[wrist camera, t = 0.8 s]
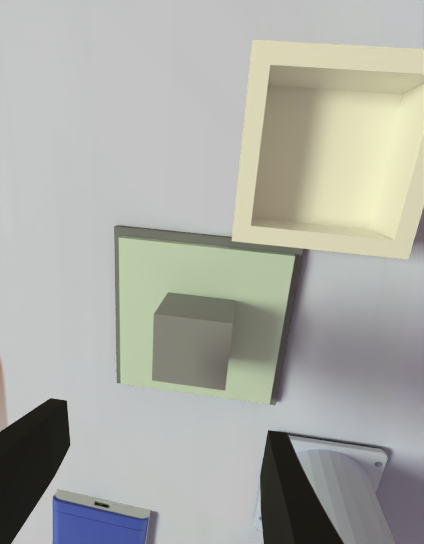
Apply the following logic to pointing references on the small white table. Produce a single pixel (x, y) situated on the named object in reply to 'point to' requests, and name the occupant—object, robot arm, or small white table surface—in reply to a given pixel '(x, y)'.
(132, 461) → the small white table surface
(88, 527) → the hard drive
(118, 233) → the mat
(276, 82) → the dish
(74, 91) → the small white table surface
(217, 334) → the lid
